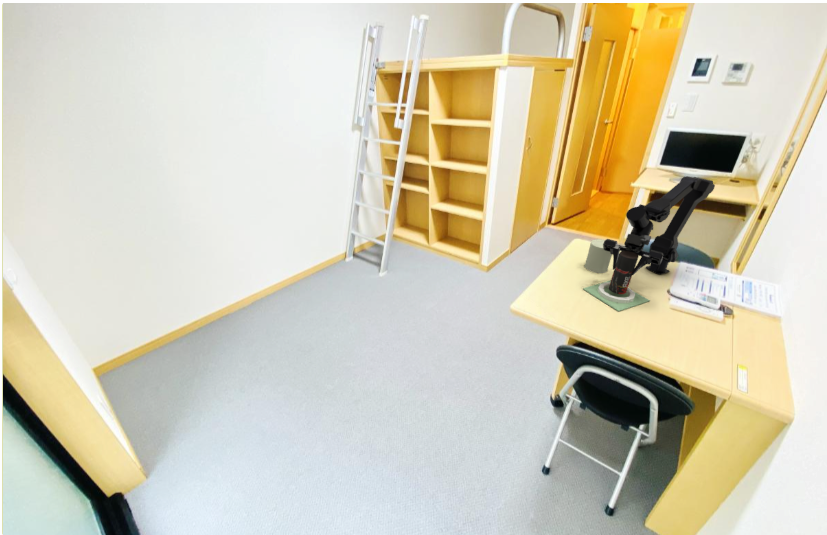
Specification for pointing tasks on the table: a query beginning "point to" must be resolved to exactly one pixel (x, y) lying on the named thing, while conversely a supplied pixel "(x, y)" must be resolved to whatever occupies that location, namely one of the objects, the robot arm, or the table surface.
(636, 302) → the putting mat
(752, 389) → the table surface
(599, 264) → the can
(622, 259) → the deodorant
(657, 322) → the table surface
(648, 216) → the robot arm
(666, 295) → the table surface
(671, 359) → the table surface
